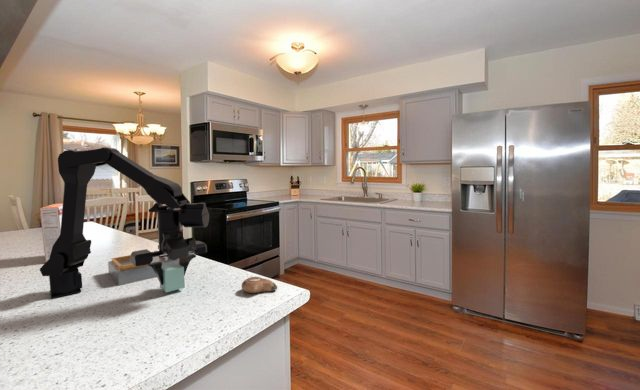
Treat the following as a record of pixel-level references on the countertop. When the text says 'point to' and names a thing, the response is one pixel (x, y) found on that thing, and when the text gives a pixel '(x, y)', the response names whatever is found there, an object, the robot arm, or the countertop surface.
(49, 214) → the cracker box
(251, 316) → the countertop surface
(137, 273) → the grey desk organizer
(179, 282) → the mint green box
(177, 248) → the robot arm
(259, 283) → the brown rounded lump
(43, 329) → the countertop surface
